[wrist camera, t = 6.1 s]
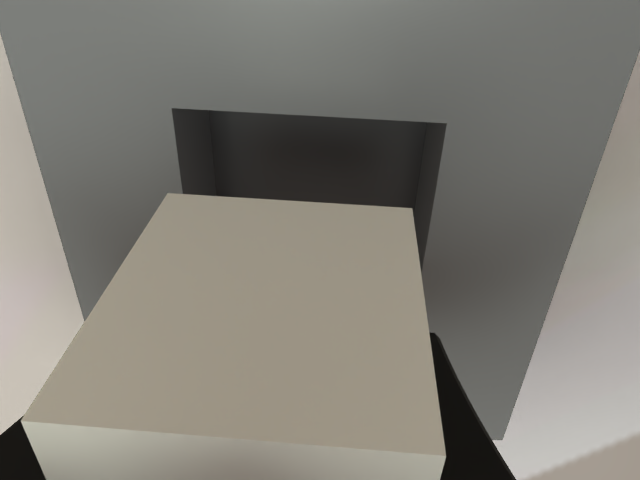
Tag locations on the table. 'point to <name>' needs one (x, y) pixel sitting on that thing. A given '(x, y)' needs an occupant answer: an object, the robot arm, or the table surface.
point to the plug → (251, 352)
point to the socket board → (339, 135)
